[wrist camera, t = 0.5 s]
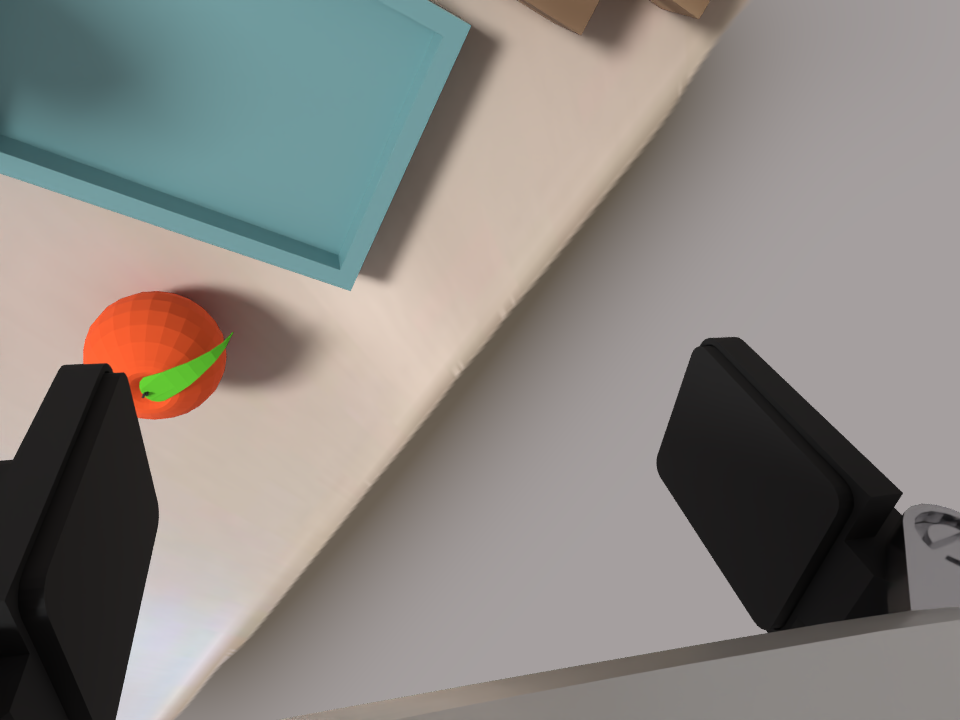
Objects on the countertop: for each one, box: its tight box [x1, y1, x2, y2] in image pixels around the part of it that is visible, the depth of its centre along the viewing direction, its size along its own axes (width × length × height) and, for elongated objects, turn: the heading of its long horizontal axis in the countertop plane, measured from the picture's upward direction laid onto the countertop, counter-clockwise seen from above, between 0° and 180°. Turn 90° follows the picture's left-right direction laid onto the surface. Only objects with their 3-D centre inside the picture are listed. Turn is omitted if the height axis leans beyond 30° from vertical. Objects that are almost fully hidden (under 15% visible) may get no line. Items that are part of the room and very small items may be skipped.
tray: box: [0, 0, 471, 291], centre depth 30 cm, size 15×20×2 cm
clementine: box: [83, 291, 233, 419], centre depth 35 cm, size 8×7×7 cm
